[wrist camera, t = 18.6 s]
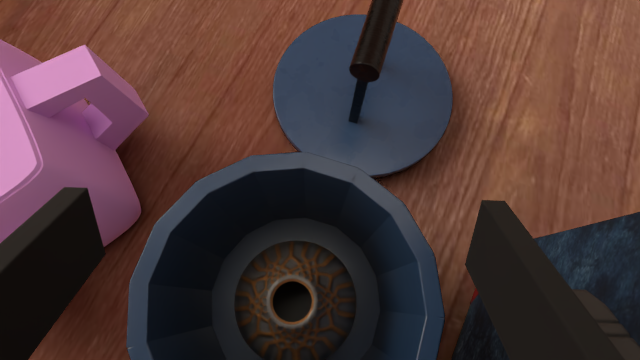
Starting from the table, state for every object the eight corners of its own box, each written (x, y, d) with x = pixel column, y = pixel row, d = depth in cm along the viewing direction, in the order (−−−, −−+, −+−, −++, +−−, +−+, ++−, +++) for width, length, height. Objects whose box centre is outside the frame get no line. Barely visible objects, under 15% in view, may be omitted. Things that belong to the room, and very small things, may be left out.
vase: (343, 243, 28) (357, 219, 20) (356, 351, 26) (378, 375, 18) (242, 254, 28) (213, 233, 19) (248, 363, 26) (218, 394, 17)
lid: (463, 49, 33) (518, -40, 25) (425, 203, 29) (473, 162, 21) (305, 5, 34) (304, -96, 25) (249, 149, 30) (224, 88, 22)
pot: (409, 240, 29) (470, 201, 18) (360, 433, 25) (399, 536, 14) (241, 187, 30) (200, 118, 19) (171, 367, 26) (69, 415, 15)
